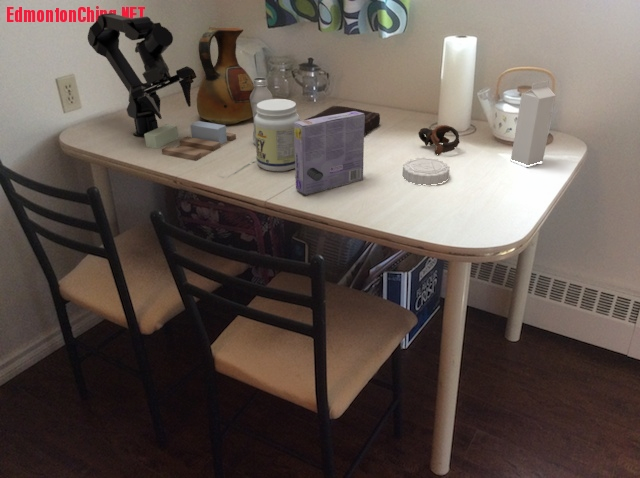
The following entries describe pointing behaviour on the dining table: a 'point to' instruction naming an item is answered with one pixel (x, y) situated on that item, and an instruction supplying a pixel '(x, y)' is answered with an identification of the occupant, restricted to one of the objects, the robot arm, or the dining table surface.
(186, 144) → the slot rack
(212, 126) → the slate block
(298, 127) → the cake pan box
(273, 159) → the supplement tub
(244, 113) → the ceramic pitcher
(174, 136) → the sage block
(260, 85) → the plastic bottle
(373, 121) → the diary
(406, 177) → the mooncake
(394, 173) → the dining table surface
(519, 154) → the milk
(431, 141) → the brown coiled piece
